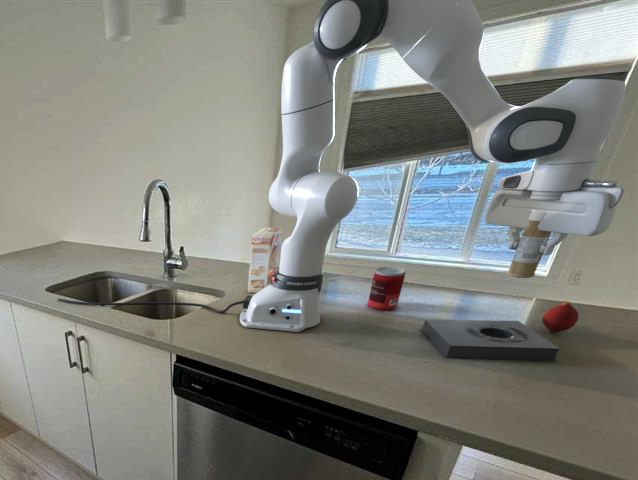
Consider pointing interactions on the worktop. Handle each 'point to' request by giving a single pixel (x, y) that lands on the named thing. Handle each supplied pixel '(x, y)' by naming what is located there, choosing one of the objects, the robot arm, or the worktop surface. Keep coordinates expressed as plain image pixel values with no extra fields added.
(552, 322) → the onion
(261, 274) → the coffeecake box
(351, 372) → the worktop surface
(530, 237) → the sprinkles bottle
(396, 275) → the canned food
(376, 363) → the worktop surface
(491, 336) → the dark grey slab holder
